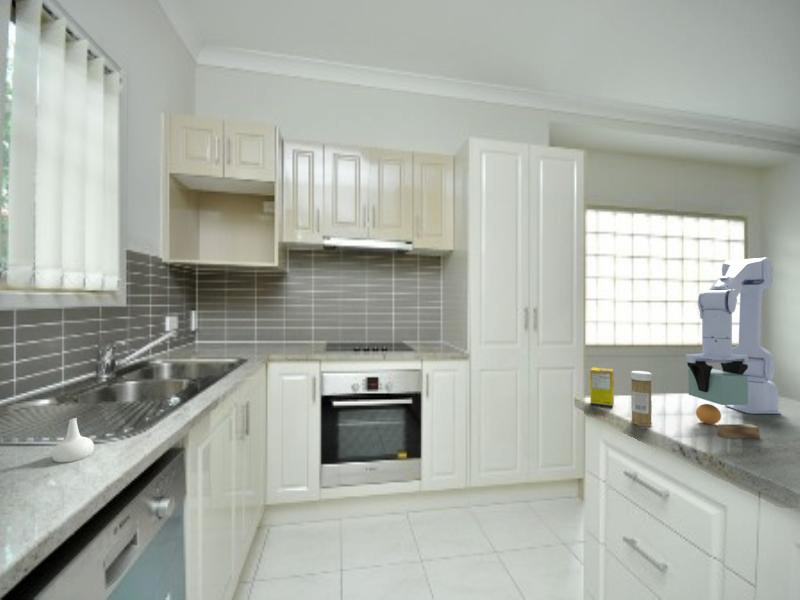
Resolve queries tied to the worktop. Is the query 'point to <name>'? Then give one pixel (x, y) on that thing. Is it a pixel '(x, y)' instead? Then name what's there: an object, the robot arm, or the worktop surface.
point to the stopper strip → (738, 431)
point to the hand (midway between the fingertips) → (716, 391)
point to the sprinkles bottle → (641, 398)
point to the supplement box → (602, 387)
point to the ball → (708, 414)
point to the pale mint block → (722, 388)
